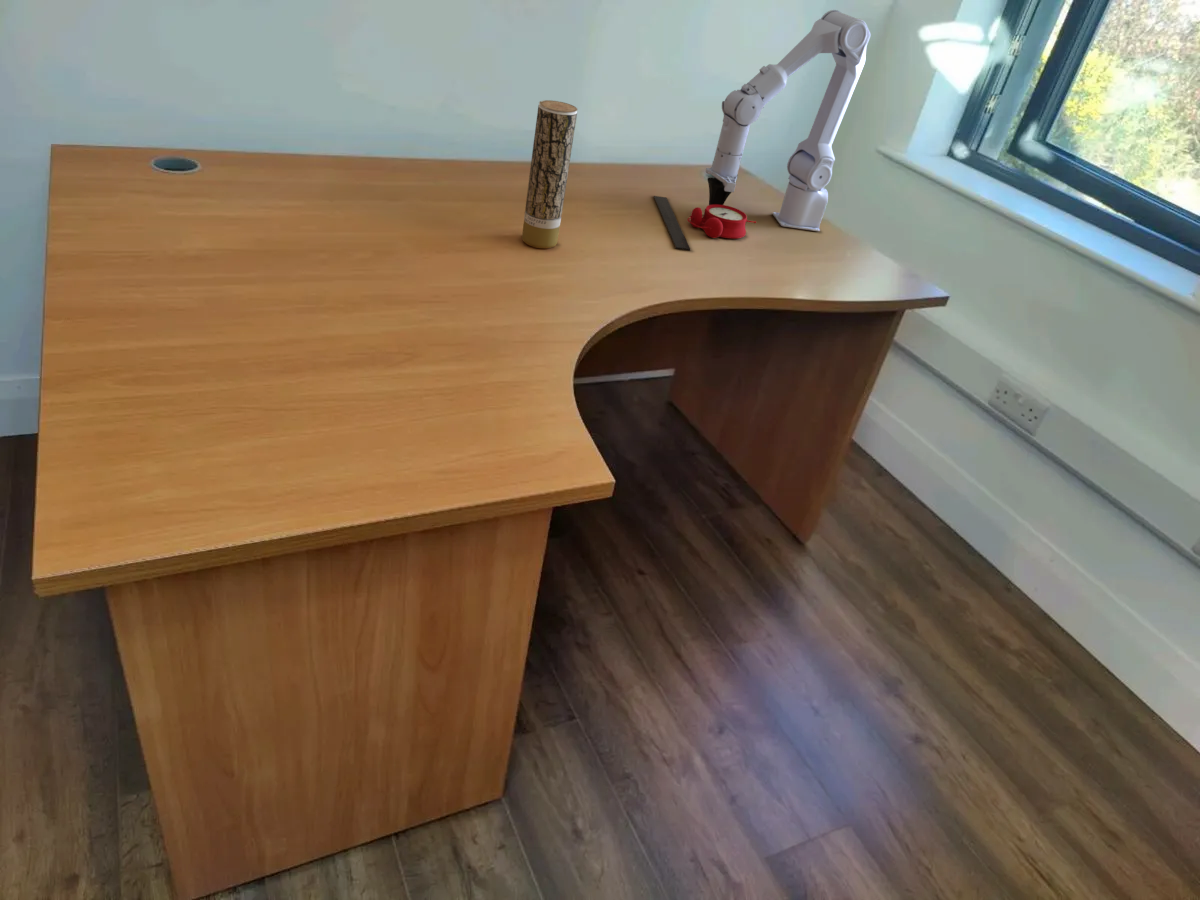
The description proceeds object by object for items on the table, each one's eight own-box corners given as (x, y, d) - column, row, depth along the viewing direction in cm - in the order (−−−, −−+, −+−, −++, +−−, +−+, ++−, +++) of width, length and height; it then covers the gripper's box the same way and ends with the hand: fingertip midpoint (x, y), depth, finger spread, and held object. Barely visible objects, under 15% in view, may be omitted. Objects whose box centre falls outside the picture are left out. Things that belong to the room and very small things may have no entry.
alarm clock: (763, 221, 180) (716, 210, 170) (750, 248, 183) (704, 238, 173) (731, 203, 186) (685, 191, 177) (720, 230, 189) (674, 219, 179)
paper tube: (551, 253, 155) (572, 114, 141) (516, 244, 156) (534, 105, 141) (560, 241, 161) (581, 106, 146) (527, 232, 161) (544, 97, 147)
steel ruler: (665, 199, 193) (666, 197, 192) (689, 250, 169) (690, 249, 168) (653, 197, 192) (653, 195, 192) (675, 249, 168) (676, 247, 168)
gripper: (704, 138, 183) (690, 198, 191) (718, 159, 171) (702, 222, 179) (735, 143, 184) (719, 203, 192) (751, 164, 172) (733, 226, 180)
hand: (713, 212), depth 186 cm, fingers closed
